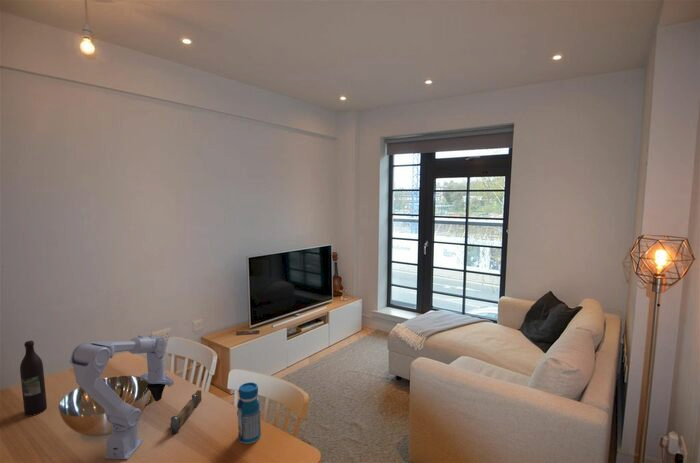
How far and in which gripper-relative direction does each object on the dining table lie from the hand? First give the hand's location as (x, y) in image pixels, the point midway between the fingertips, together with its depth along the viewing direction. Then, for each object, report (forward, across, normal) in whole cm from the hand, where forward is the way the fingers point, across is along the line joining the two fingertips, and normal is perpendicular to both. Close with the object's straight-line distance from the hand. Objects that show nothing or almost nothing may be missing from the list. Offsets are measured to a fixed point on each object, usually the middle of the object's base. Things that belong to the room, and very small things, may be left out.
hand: (157, 399), depth 143 cm
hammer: (+10, -6, -7) cm, 14 cm away
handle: (+10, -8, -5) cm, 13 cm away
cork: (+10, +17, -10) cm, 22 cm away
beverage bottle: (+10, -38, -5) cm, 40 cm away
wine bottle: (+10, +54, +10) cm, 56 cm away
